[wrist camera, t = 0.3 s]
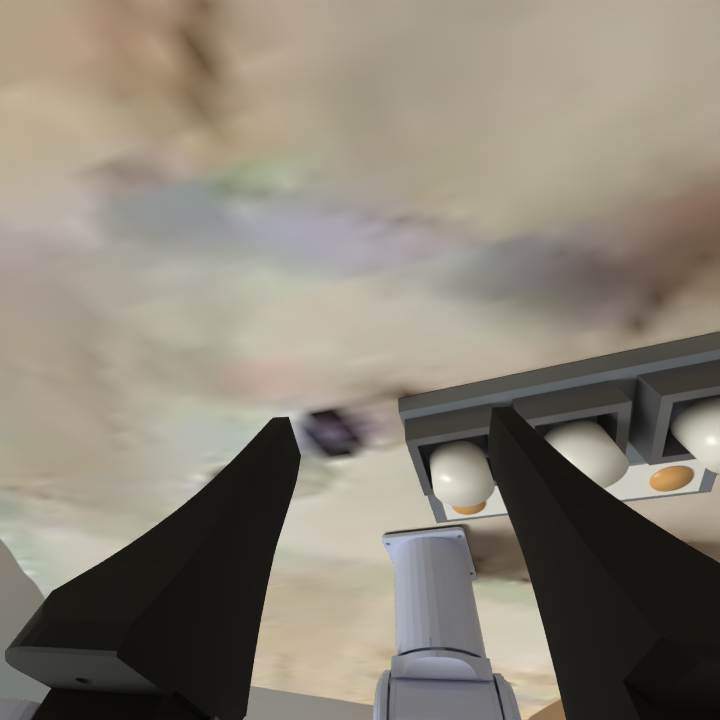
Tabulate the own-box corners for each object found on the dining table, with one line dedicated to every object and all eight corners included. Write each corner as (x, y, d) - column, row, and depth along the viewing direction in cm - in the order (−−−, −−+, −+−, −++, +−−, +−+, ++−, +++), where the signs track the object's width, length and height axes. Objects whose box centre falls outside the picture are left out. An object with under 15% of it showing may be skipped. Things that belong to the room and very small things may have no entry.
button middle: (603, 456, 20) (626, 487, 18) (542, 465, 21) (557, 495, 19) (607, 414, 18) (631, 443, 17) (539, 426, 19) (556, 454, 17)
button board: (694, 474, 25) (735, 517, 22) (434, 507, 29) (439, 546, 26) (736, 328, 19) (802, 360, 16) (398, 398, 23) (399, 433, 20)
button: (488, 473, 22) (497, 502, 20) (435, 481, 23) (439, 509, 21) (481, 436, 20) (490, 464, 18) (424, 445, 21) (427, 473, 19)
